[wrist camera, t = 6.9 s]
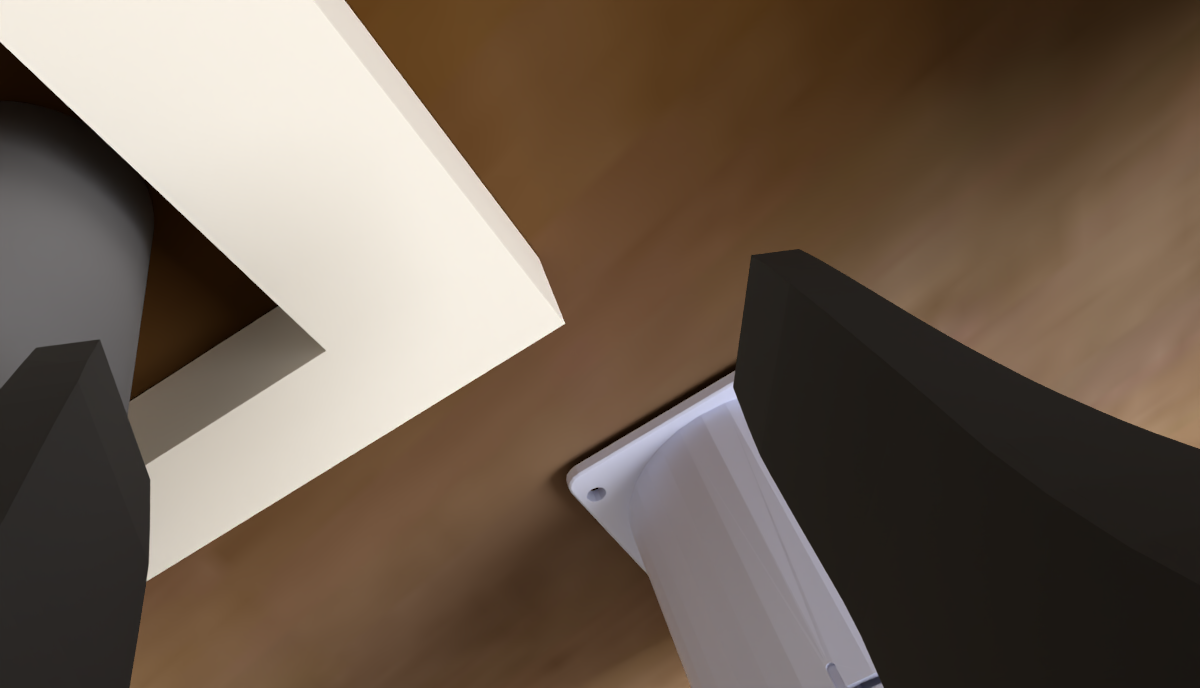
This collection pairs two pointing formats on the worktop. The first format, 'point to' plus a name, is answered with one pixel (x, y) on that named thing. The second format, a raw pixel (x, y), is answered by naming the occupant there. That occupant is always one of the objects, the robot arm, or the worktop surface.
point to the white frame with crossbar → (290, 237)
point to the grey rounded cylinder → (69, 241)
